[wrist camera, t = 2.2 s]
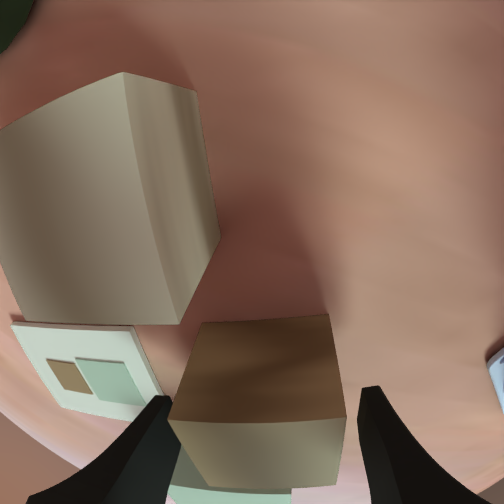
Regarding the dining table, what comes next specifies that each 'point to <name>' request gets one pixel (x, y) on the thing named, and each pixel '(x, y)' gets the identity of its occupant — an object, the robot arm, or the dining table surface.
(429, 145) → the dining table surface
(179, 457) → the base block
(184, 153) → the ash block
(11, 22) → the character mug
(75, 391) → the card
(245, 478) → the walnut block
